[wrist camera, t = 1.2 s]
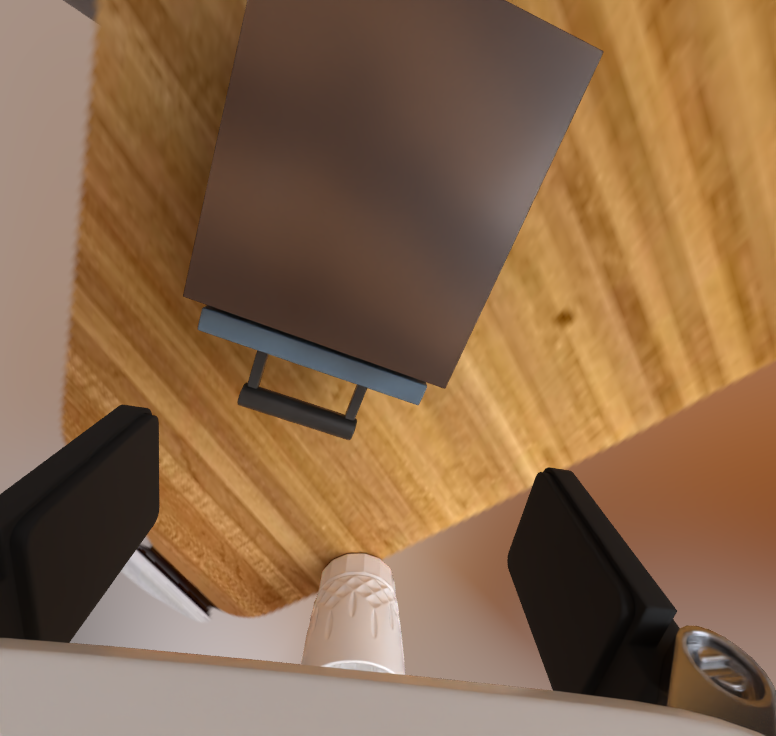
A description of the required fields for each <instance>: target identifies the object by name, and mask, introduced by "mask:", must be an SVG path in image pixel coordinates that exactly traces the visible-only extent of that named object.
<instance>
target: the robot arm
mask: <svg viewBox="0 0 776 736" xmlns="http://www.w3.org/2000/svg"><path fill="white" fill-rule="evenodd" d="M158 513H159V422H158V418H157V416H154V415H152V413H151V411H150V409H148V408H142V407H135V406H129V405H120V406H118V407H117V408H116V409H114V410H113V411H112V412H110V413H109V414H108V415H106V416H105V417H104V418H102V419H101V420H100V421H98V422H97V423H96V424H94V425H93V426H91V427H90V428H89V429H87V430H86V431H85V432H83V433H82V434H81V435H79V436H78V437H77V438H75V439H74V440H73V441H71V442H70V443H69V444H67V445H66V446H65V447H63V448H62V449H61V450H59V451H58V452H57V453H55V454H54V455H52V456H51V457H50V458H49V459H47V460H46V461H44V462H43V463H42V464H40V465H39V466H38V467H36V468H35V469H34V470H33V471H31V472H30V473H28V474H27V475H26V476H24V477H23V478H22V479H20V480H19V481H18V482H16V483H15V484H14V485H12V486H11V487H10V488H8V489H7V490H5V491H4V492H3V493H1V494H0V736H776V690H775V688H774V685H773V684H772V682H771V680H770V679H769V677H768V676H767V674H766V673H765V671H764V670H763V669H762V668H761V667H760V666H759V665H758V664H757V663H756V662H755V660H754V659H753V658H752V657H750V656H749V655H748V654H747V653H746V652H745V651H743V650H742V649H741V648H740V647H738V646H737V645H735V644H734V643H733V642H731V641H729V640H728V639H727V638H725V637H723V636H721V635H719V634H717V633H715V632H713V631H711V630H709V629H705V628H702V627H699V626H685V627H683V628H679V627H678V625H677V624H676V623H675V621H674V620H673V618H674V616H675V614H676V612H677V610H676V609H675V607H674V606H673V605H672V603H671V602H670V601H669V599H668V598H667V597H666V595H665V594H664V593H663V592H662V590H661V589H660V587H659V586H658V585H657V584H656V582H655V581H654V580H653V578H652V577H651V576H650V574H649V573H648V572H647V570H646V569H645V568H644V566H643V565H642V564H641V562H640V561H639V560H638V558H637V557H636V556H635V554H634V553H633V552H632V550H631V549H630V548H629V546H628V545H627V544H626V542H625V541H624V540H623V538H622V537H621V536H620V534H619V533H618V532H617V530H616V529H615V528H614V526H613V525H612V524H611V522H610V521H609V520H608V518H607V517H606V516H605V514H604V513H603V512H602V510H601V509H600V508H599V506H598V505H597V504H596V503H595V501H594V500H593V499H592V497H591V496H590V495H589V493H588V492H587V491H586V489H585V488H584V487H583V485H582V484H581V483H580V481H579V480H578V479H577V477H576V476H575V475H574V473H573V472H571V471H569V470H562V469H555V468H546V469H545V470H544V471H543V472H539V473H538V474H537V476H536V478H535V481H534V483H533V486H532V489H531V492H530V495H529V497H528V500H527V503H526V506H525V509H524V511H523V514H522V517H521V520H520V523H519V525H518V528H517V531H516V534H515V536H514V539H513V542H512V545H511V547H510V551H509V553H508V569H509V572H510V574H511V577H512V580H513V583H514V585H515V588H516V591H517V593H518V596H519V599H520V602H521V604H522V607H523V610H524V613H525V615H526V618H527V621H528V624H529V626H530V629H531V632H532V634H533V637H534V640H535V643H536V645H537V648H538V650H539V653H540V656H541V659H542V662H543V664H544V667H545V670H546V673H547V675H548V678H549V681H550V683H551V686H552V689H553V691H551V690H542V689H532V688H523V687H514V686H505V685H495V684H486V683H477V682H466V681H458V680H448V679H439V678H430V677H421V676H411V675H401V674H391V673H381V672H371V671H362V670H352V669H342V668H332V667H322V666H312V665H302V664H291V663H282V662H272V661H262V660H252V659H241V658H230V657H220V656H209V655H198V654H188V653H178V652H166V651H156V650H146V649H135V648H125V647H114V646H103V645H90V644H77V643H69V642H70V641H71V639H72V638H73V637H74V635H75V634H76V632H77V631H78V630H79V628H80V627H81V626H82V624H83V623H84V621H85V620H86V619H87V617H88V616H89V614H90V613H91V612H92V610H93V609H94V607H95V606H96V604H97V603H98V602H99V601H100V599H101V598H102V596H103V595H104V594H105V592H106V591H107V589H108V588H109V587H110V585H111V584H112V582H113V581H114V580H115V578H116V577H117V575H118V574H119V573H120V571H121V570H122V569H123V567H124V566H125V564H126V563H127V562H128V560H129V559H130V557H131V556H132V555H133V553H134V552H135V550H136V549H137V548H138V546H139V545H140V544H141V542H142V541H143V539H144V538H145V537H146V535H147V534H148V532H149V531H150V530H151V528H152V527H153V525H154V524H155V522H156V520H157V517H158Z"/></svg>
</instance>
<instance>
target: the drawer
mask: <svg viewBox="0 0 776 736" xmlns="http://www.w3.org/2000/svg"><path fill="white" fill-rule="evenodd" d="M198 330H200V331H203V332H206V333H209V334H211V335H214V336H217V337H220V338H223V339H226V340H229V341H232V342H235V343H238V344H241V345H244V346H246V347H249V348H252V349H255V350H257V353H256V357H255V360H254V364H253V367H252V370H251V374H250V377H249V381H248V383H245V384H244V386H243V388H242V390H241V392H240V395H239V398H238V405H240V406H243V407H246V408H250V409H253V410H256V411H259V412H262V413H265V414H268V415H271V416H275V417H278V418H281V419H284V420H287V421H290V422H293V423H296V424H300V425H303V426H306V427H309V428H312V429H315V430H318V431H321V432H325V433H328V434H331V435H334V436H337V437H340V438H343V439H346V440H351V438H352V436H353V433H354V431H355V427H356V424H357V419H356V418H355V417H356V415H357V412H358V410H359V407H360V405H361V402H362V400H363V397H364V395H365V392H366V390H367V388H369V389H372V390H375V391H378V392H381V393H384V394H387V395H389V396H392V397H395V398H398V399H401V400H404V401H407V402H410V403H413V404H416V405H419V404H420V401H421V399H422V397H423V395H424V393H425V390H426V388H427V385H426V382H424V381H422V380H419V379H416V378H413V377H410V376H407V375H405V374H402V373H399V372H396V371H393V370H390V369H388V368H385V367H382V366H379V365H376V364H373V363H371V362H368V361H365V360H362V359H359V358H356V357H354V356H351V355H348V354H345V353H342V352H339V351H336V350H334V349H331V348H328V347H325V346H322V345H319V344H317V343H314V342H311V341H308V340H305V339H302V338H300V337H297V336H294V335H291V334H288V333H285V332H283V331H280V330H277V329H274V328H271V327H268V326H266V325H263V324H260V323H257V322H254V321H251V320H249V319H246V318H243V317H240V316H237V315H234V314H232V313H229V312H226V311H223V310H220V309H217V308H215V307H212V306H209V305H207V306H205V307H203V308H202V312H201V316H200V320H199V324H198ZM269 354H270V355H273V356H276V357H279V358H281V359H284V360H287V361H290V362H293V363H296V364H299V365H302V366H305V367H308V368H311V369H314V370H317V371H319V372H322V373H325V374H328V375H331V376H334V377H337V378H340V379H343V380H346V381H349V382H352V383H354V384H357V385H356V388H355V390H354V393H353V396H352V398H351V401H350V403H349V406H348V408H347V411H346V413H345V415H344V414H341V413H338V412H335V411H332V410H329V409H326V408H323V407H320V406H317V405H314V404H311V403H308V402H305V401H302V400H299V399H295V398H292V397H289V396H286V395H283V394H280V393H277V392H274V391H271V390H268V389H265V388H262V387H259V385H260V382H261V378H262V375H263V372H264V369H265V365H266V362H267V359H268V355H269Z"/></svg>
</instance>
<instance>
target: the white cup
mask: <svg viewBox="0 0 776 736" xmlns="http://www.w3.org/2000/svg"><path fill="white" fill-rule="evenodd" d="M301 664H302V665H312V666H322V667H332V668H342V669H352V670H362V671H371V672H381V673H391V674H401V675H406V672H405V662H404V652H403V643H402V633H401V626H400V619H399V610H398V603H397V599H396V592H395V583H394V578H393V575H392V572H391V569H390V568H389V567H388V566H387V565H386V564H385V563H384V562H383V561H382V560H381V559H379V558H377V557H374V556H371V555H368V554H365V553H357V554H346V555H344V556H341V557H339V558H336V559H334V560H332V561H331V562H330V563H329V565H328V566H327V567H326V568H325V569H324V570H323V572H322V576H321V581H320V586H319V591H318V594H317V598H316V600H315V602H314V607H313V611H312V615H311V619H310V625H309V628H308V632H307V636H306V641H305V647H304V651H303V657H302V661H301Z"/></svg>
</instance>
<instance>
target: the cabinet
mask: <svg viewBox="0 0 776 736" xmlns="http://www.w3.org/2000/svg"><path fill="white" fill-rule="evenodd" d="M602 54H603V51H602V50H600V49H598V48H596V47H594V46H592V45H590V44H588V43H586V42H584V41H583V40H581V39H579V38H577V37H575V36H573V35H571V34H569V33H567V32H565V31H563V30H561V29H559V28H557V27H556V26H554V25H552V24H550V23H548V22H546V21H544V20H542V19H540V18H538V17H536V16H534V15H532V14H530V13H529V12H527V11H525V10H523V9H521V8H519V7H517V6H515V5H513V4H511V3H509V2H507V1H505V0H247V5H246V10H245V14H244V19H243V23H242V28H241V33H240V37H239V42H238V46H237V51H236V55H235V60H234V65H233V69H232V74H231V78H230V83H229V88H228V92H227V97H226V101H225V106H224V110H223V115H222V120H221V124H220V129H219V133H218V138H217V143H216V147H215V152H214V156H213V161H212V166H211V170H210V175H209V179H208V184H207V188H206V193H205V198H204V202H203V207H202V211H201V216H200V221H199V225H198V230H197V234H196V239H195V243H194V248H193V253H192V257H191V262H190V266H189V271H188V276H187V280H186V285H185V289H184V294H183V296H184V297H186V298H189V299H192V300H195V301H198V302H200V303H203V304H206V305H209V306H212V307H215V308H217V309H220V310H223V311H226V312H229V313H232V314H234V315H237V316H240V317H243V318H246V319H249V320H251V321H254V322H257V323H260V324H263V325H266V326H268V327H271V328H274V329H277V330H280V331H283V332H285V333H288V334H291V335H294V336H297V337H300V338H302V339H305V340H308V341H311V342H314V343H317V344H319V345H322V346H325V347H328V348H331V349H334V350H336V351H339V352H342V353H345V354H348V355H351V356H354V357H356V358H359V359H362V360H365V361H368V362H371V363H373V364H376V365H379V366H382V367H385V368H388V369H390V370H393V371H396V372H399V373H402V374H405V375H407V376H410V377H413V378H416V379H419V380H422V381H424V382H427V383H430V384H433V385H436V386H439V387H441V388H446V386H447V384H448V382H449V380H450V377H451V375H452V373H453V371H454V369H455V367H456V365H457V363H458V360H459V358H460V356H461V354H462V352H463V350H464V348H465V346H466V343H467V341H468V339H469V337H470V335H471V333H472V331H473V329H474V326H475V324H476V322H477V320H478V318H479V316H480V314H481V312H482V309H483V307H484V305H485V303H486V301H487V299H488V297H489V295H490V292H491V290H492V288H493V286H494V284H495V282H496V280H497V278H498V275H499V273H500V271H501V269H502V267H503V265H504V263H505V261H506V258H507V256H508V254H509V252H510V250H511V248H512V246H513V244H514V241H515V239H516V237H517V235H518V233H519V231H520V229H521V227H522V224H523V222H524V220H525V218H526V216H527V214H528V212H529V210H530V207H531V205H532V203H533V201H534V199H535V197H536V195H537V193H538V190H539V188H540V186H541V184H542V182H543V180H544V178H545V176H546V173H547V171H548V169H549V167H550V165H551V163H552V161H553V159H554V156H555V154H556V152H557V150H558V148H559V146H560V144H561V142H562V139H563V137H564V135H565V133H566V131H567V129H568V127H569V124H570V122H571V120H572V118H573V116H574V114H575V112H576V110H577V107H578V105H579V103H580V101H581V99H582V97H583V95H584V93H585V90H586V88H587V86H588V84H589V82H590V80H591V78H592V76H593V73H594V71H595V69H596V67H597V65H598V63H599V61H600V59H601V56H602Z"/></svg>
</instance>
